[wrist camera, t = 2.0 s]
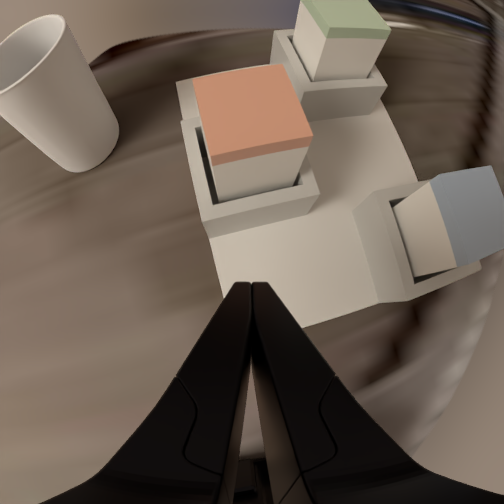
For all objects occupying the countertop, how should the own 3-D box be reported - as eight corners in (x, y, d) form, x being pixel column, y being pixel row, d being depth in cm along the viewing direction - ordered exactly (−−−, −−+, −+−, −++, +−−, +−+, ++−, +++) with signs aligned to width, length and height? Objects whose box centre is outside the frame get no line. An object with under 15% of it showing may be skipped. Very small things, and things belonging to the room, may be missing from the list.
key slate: (457, 259, 19) (517, 242, 13) (409, 278, 19) (468, 264, 12) (438, 198, 20) (491, 165, 14) (388, 210, 19) (439, 174, 13)
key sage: (364, 83, 21) (391, 30, 15) (310, 86, 21) (329, 27, 15) (341, 45, 22) (360, -8, 16) (291, 47, 22) (302, -10, 15)
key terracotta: (292, 186, 19) (313, 135, 13) (219, 203, 19) (210, 156, 13) (271, 125, 20) (282, 63, 14) (203, 139, 20) (192, 79, 14)
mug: (138, 129, 23) (86, 23, 12) (83, 191, 22) (-6, 113, 11) (75, 87, 24) (23, 4, 12) (28, 138, 23) (-42, 69, 11)
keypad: (447, 276, 22) (481, 269, 18) (236, 345, 21) (235, 354, 16) (356, 59, 26) (369, 28, 21) (176, 83, 24) (167, 49, 20)
